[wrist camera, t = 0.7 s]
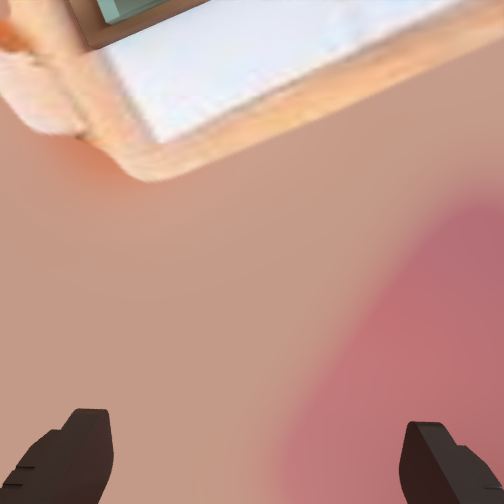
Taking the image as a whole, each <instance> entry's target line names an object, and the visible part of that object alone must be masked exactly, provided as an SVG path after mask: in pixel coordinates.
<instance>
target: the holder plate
mask: <svg viewBox="0 0 504 504" xmlns="http://www.w3.org/2000/svg"><path fill="white" fill-rule="evenodd" d="M207 1H209V0H69V2H70V4H71V6H72V9H73V11H74V13H75V16H76V18H77V20H78V23H79V25H80V27H81V29H82V32H83V34H84V36H85V39H86V41H87V43H88V46H89V47H92V48H96V49H100V48H102V47H104V46H107V45H109V44H111V43H114V42H116V41H118V40H120V39H123V38H125V37H127V36H130V35H132V34H134V33H136V32H139V31H141V30H143V29H146V28H148V27H150V26H152V25H155V24H157V23H159V22H162V21H164V20H166V19H168V18H171V17H173V16H175V15H178V14H180V13H182V12H184V11H187V10H189V9H191V8H193V7H196V6H198V5H200V4H203V3H205V2H207Z"/></svg>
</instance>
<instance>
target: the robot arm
mask: <svg viewBox="0 0 504 504" xmlns="http://www.w3.org/2000/svg"><path fill="white" fill-rule="evenodd" d="M113 458H114V452H113V444H112V435H111V427H110V419H109V413H108V411H107V410H106V409H80V408H79V409H76V410H75V411H74V412H73V413H72V414H71V416H70V417H69V418H68V420H67V422H66V423H65V424H64V426H63V427H62V429H61V430H50V431H49V432H48V433H47V434H45V435H44V436H43V437H42V438H40V439H39V440H38V441H37V442H35V443H34V444H33V445H32V446H31V447H30V448H29V450H28V451H27V452H26V453H25V455H24V456H23V457H22V459H21V460H20V461H19V463H18V464H17V465H16V468H15V470H13V471H12V472H11V473H10V475H9V476H8V477H7V479H6V480H5V481H4V483H3V486H2V488H0V504H98V503H99V500H100V498H101V496H102V493H103V491H104V489H105V487H106V485H107V482H108V480H109V477H110V474H111V470H112V465H113ZM399 477H400V483H401V487H402V490H403V493H404V496H405V498H406V500H407V503H408V504H504V490H503V489H502V485H501V484H500V482H499V481H498V479H497V478H496V477H495V475H494V474H493V473H492V471H491V469H490V468H489V467H488V465H487V464H486V463H485V462H484V461H482V460H481V459H480V458H479V457H478V456H477V455H476V454H474V453H473V452H472V451H471V450H470V449H469V448H468V447H467V446H461V445H457V444H456V443H455V442H454V440H453V438H452V437H451V435H450V434H449V432H448V431H447V429H446V428H445V426H444V425H443V424H441V423H439V422H415V421H411V422H409V423H408V425H407V429H406V433H405V438H404V443H403V448H402V453H401V458H400V463H399Z"/></svg>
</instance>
